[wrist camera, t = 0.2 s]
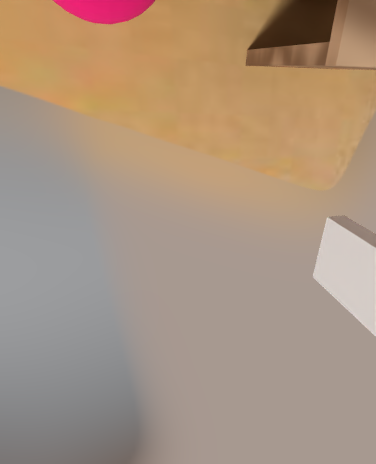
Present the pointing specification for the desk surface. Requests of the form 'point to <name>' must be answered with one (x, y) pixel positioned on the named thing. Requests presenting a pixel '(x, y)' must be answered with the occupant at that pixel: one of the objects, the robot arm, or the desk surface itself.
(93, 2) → the toy
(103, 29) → the desk surface
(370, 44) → the wooden lipped block
